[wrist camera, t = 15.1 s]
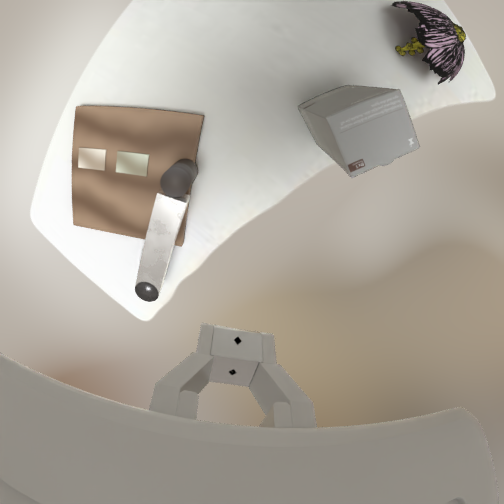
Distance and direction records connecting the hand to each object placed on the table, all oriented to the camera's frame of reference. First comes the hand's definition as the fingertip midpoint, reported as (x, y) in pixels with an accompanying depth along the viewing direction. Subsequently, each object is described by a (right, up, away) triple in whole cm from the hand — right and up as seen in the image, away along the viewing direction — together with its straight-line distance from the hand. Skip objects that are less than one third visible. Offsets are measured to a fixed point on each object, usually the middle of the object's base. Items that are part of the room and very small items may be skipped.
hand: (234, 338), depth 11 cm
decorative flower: (+26, +36, +16) cm, 47 cm away
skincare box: (+12, +22, +23) cm, 34 cm away
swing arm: (-13, +5, +30) cm, 33 cm away
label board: (-18, +16, +27) cm, 36 cm away
